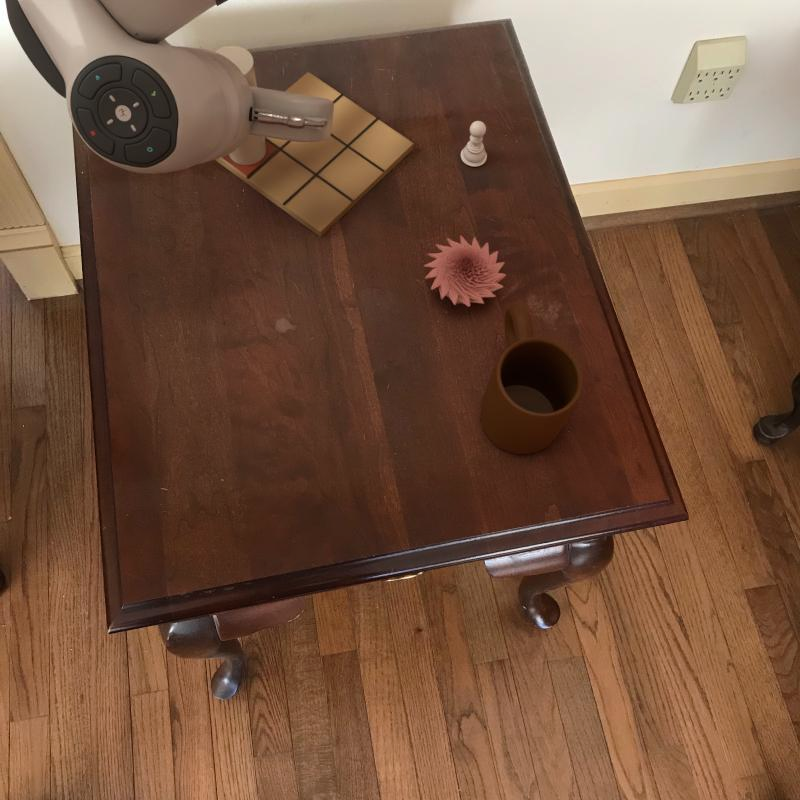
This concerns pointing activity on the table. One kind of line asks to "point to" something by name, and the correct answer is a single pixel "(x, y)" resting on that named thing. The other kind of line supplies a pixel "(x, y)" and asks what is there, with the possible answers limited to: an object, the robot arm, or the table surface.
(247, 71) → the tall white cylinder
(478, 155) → the chess pawn
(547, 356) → the mug
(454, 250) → the flower
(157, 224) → the table surface
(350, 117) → the board
